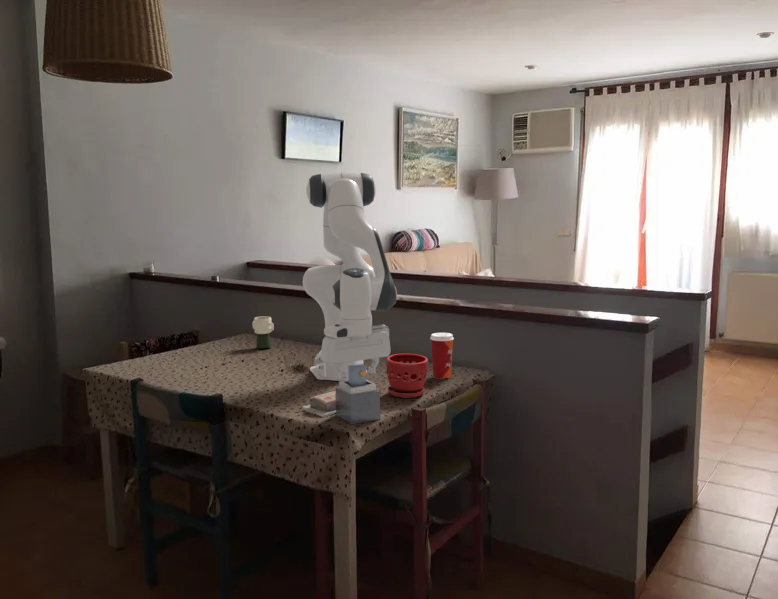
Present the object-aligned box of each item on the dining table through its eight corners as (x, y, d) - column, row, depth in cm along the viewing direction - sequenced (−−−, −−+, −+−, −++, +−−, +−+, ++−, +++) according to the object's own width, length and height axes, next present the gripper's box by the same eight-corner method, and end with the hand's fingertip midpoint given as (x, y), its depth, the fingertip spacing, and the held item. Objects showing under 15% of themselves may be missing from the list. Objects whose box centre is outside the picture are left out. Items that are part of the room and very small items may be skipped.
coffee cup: (455, 379, 230) (455, 336, 227) (431, 380, 229) (431, 337, 227) (451, 373, 238) (451, 331, 236) (428, 374, 237) (428, 332, 235)
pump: (345, 388, 191) (345, 364, 190) (361, 386, 193) (361, 362, 192) (356, 395, 185) (356, 370, 184) (372, 392, 187) (372, 367, 186)
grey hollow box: (336, 414, 193) (335, 381, 192) (364, 409, 198) (363, 376, 196) (351, 424, 185) (350, 389, 183) (380, 419, 189) (379, 384, 188)
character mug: (279, 347, 282) (278, 317, 280) (268, 351, 276) (267, 320, 274) (259, 345, 287) (257, 315, 285) (248, 348, 281) (246, 318, 279)
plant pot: (385, 400, 207) (385, 362, 205) (387, 388, 220) (387, 352, 218) (428, 400, 206) (428, 362, 204) (427, 388, 219) (427, 352, 217)
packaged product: (346, 383, 210) (369, 389, 203) (347, 398, 211) (369, 404, 204) (301, 395, 197) (323, 402, 191) (302, 411, 198) (324, 419, 191)
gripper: (383, 322, 195) (384, 368, 197) (318, 329, 185) (319, 378, 187) (394, 325, 190) (394, 373, 192) (327, 333, 180) (329, 383, 182)
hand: (357, 375), depth 190 cm, fingers open, 8 cm apart
